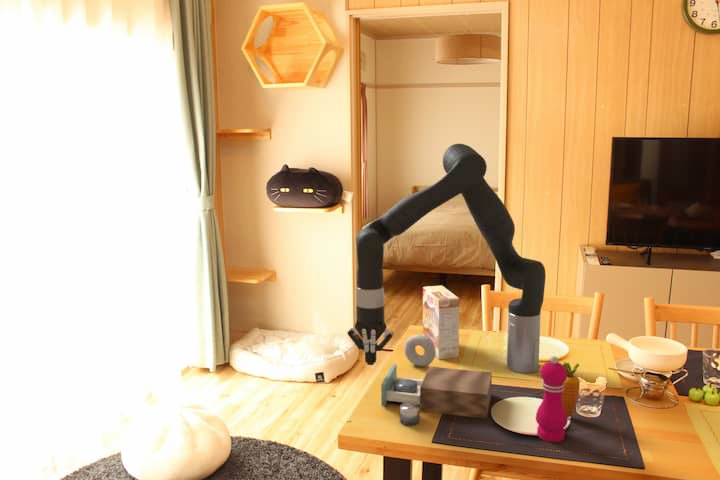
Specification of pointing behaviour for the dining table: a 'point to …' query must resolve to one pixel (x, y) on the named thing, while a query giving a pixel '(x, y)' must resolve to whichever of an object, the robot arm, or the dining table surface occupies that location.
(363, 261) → the robot arm
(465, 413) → the housing
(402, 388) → the grey domed disc
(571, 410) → the carrot
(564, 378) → the pepper mill
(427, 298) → the coffeecake box
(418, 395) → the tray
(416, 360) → the donut
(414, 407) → the shiny metal cylinder
